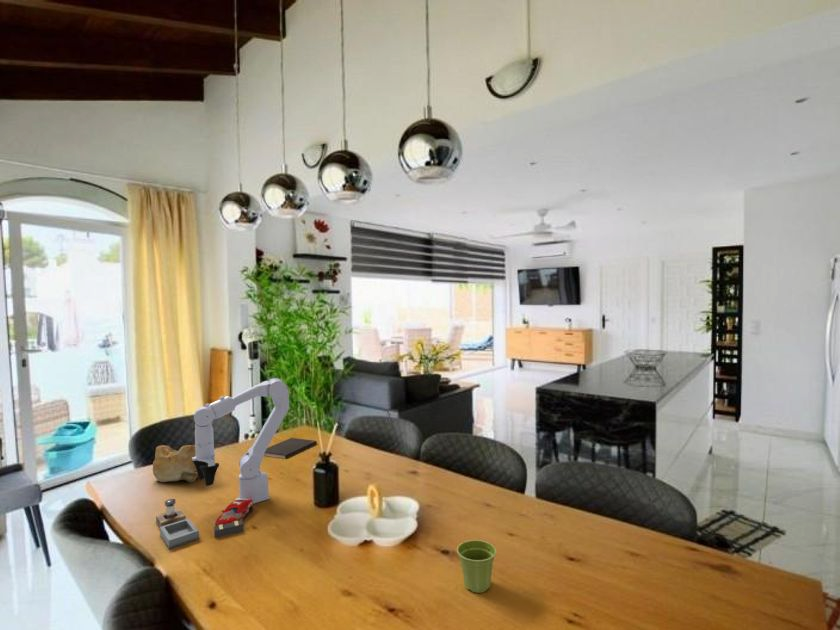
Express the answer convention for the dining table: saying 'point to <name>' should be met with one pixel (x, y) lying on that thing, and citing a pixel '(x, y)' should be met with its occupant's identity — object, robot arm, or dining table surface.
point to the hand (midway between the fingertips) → (206, 482)
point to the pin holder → (163, 521)
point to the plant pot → (476, 564)
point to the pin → (170, 508)
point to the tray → (179, 533)
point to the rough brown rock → (175, 464)
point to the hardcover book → (289, 447)
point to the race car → (235, 511)
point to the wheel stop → (228, 528)
